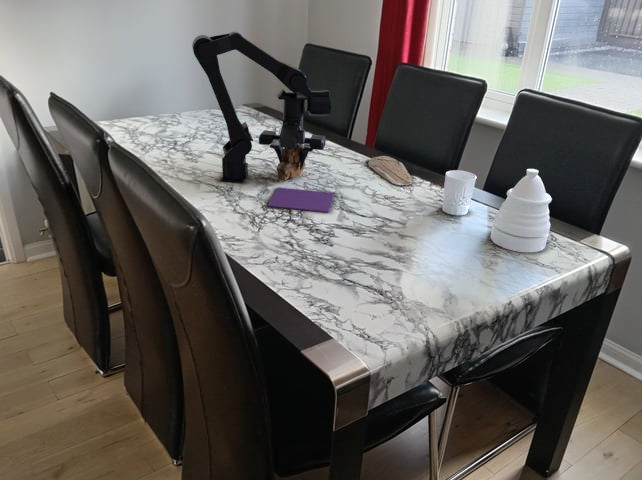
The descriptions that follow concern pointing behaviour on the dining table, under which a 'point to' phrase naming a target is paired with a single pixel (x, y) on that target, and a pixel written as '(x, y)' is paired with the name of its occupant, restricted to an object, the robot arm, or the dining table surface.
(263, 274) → the dining table surface
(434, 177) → the dining table surface
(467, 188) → the white cup
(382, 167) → the fish fossil
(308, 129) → the dining table surface
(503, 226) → the honey pot
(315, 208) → the cloth
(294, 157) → the wooden carving
